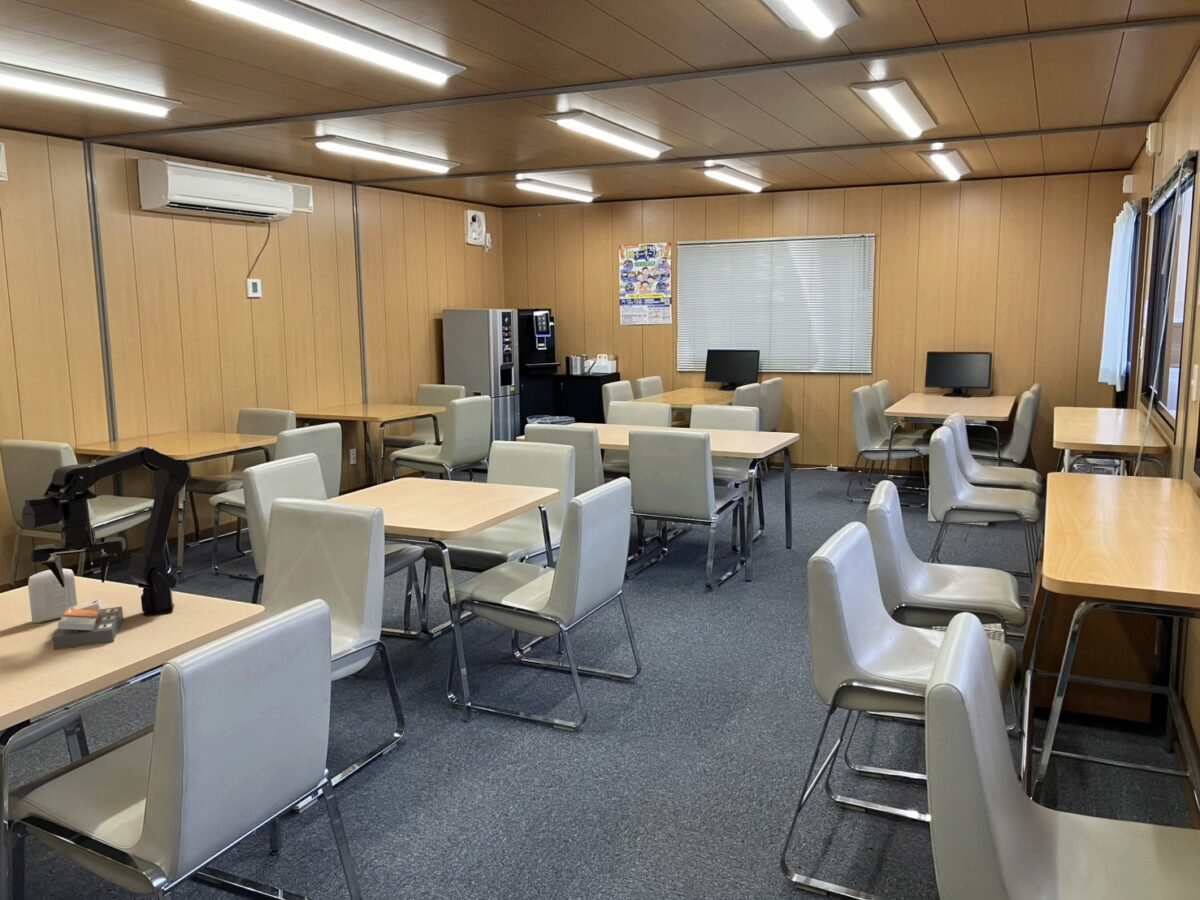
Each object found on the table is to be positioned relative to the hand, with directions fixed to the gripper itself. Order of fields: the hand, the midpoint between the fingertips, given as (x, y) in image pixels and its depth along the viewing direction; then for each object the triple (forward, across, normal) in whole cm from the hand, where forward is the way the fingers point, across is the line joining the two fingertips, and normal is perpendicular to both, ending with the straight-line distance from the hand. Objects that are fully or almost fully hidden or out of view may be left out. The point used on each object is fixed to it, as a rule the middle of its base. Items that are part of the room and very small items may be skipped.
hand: (83, 584), depth 212 cm
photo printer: (+12, +10, -16) cm, 23 cm away
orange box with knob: (+8, +1, 0) cm, 8 cm away
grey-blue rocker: (+8, +1, +6) cm, 10 cm away
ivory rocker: (+8, +1, -6) cm, 10 cm away
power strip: (+12, 0, 0) cm, 12 cm away
